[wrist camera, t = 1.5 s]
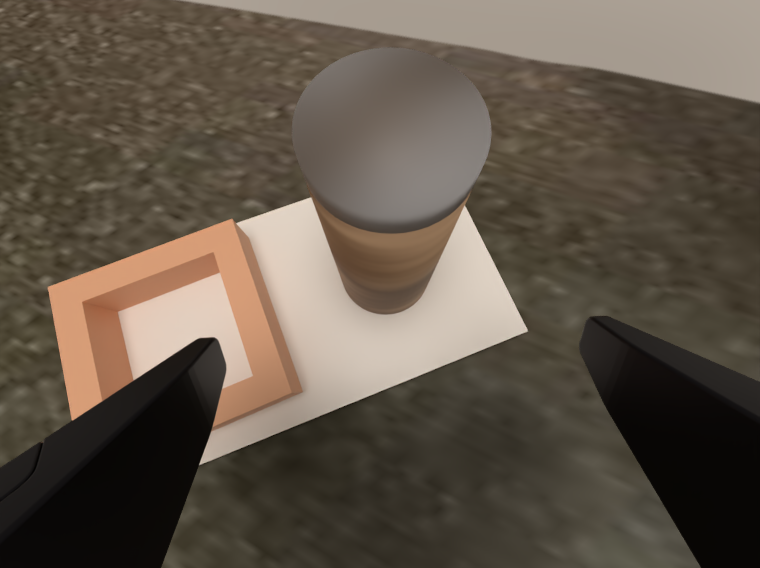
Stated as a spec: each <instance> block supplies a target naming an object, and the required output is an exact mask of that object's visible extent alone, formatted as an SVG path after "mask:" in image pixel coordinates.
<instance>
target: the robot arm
mask: <svg viewBox="0 0 760 568" xmlns="http://www.w3.org/2000/svg"><path fill="white" fill-rule="evenodd" d="M579 350H580V353H581V355H582V358H583V360H584V362H585V364H586V366H587V368H588V371H589V373H590V375H591V377H592V379H593V381H594V384H595V386H596V388H597V390H598V392H599V394H600V397H601V399H602V401H603V403H604V405H605V407H606V409H607V410H608V412H609V414H610V416H611V417H612V419H613V421H614V422H615V424H616V426H617V427H618V429H619V431H620V433H621V434H622V436H623V438H624V439H625V441H626V443H627V444H628V446H629V448H630V449H631V451H632V453H633V454H634V456H635V458H636V459H637V461H638V463H639V464H640V466H641V468H642V469H643V471H644V473H645V474H646V476H647V478H648V480H649V481H650V483H651V485H652V486H653V488H654V490H655V491H656V493H657V495H658V496H659V498H660V500H661V501H662V503H663V505H664V506H665V508H666V510H667V511H668V513H669V515H670V516H671V518H672V520H673V521H674V523H675V525H676V526H677V528H678V530H679V532H680V533H681V535H682V537H683V538H684V540H685V542H686V543H687V545H688V547H689V548H690V550H691V552H692V553H693V555H694V557H695V558H696V560H697V562H698V563H699V565H700V567H701V568H760V382H759V381H756V380H754V379H752V378H749V377H747V376H745V375H743V374H740V373H738V372H736V371H733V370H731V369H729V368H726V367H724V366H722V365H719V364H717V363H715V362H712V361H710V360H708V359H706V358H703V357H701V356H699V355H696V354H694V353H692V352H689V351H687V350H685V349H682V348H680V347H678V346H675V345H673V344H671V343H669V342H666V341H664V340H662V339H659V338H657V337H655V336H652V335H650V334H648V333H645V332H643V331H641V330H638V329H636V328H634V327H632V326H629V325H627V324H625V323H622V322H620V321H618V320H615V319H613V318H611V317H608V316H593V317H589V318H588V319H587V320H586V322H585V326H584V329H583V332H582V336H581V339H580V343H579ZM225 375H226V361H225V358H224V355H223V352H222V349H221V346H220V343H219V341H218V339H217V338H215V337H207V338H198V339H196V340H195V341H193V342H191V343H190V344H188V345H187V346H185V347H184V348H182V349H181V350H179V351H178V352H176V353H175V354H173V355H172V356H170V357H169V358H167V359H166V360H164V361H163V362H161V363H159V364H158V365H156V366H155V367H153V368H152V369H150V370H149V371H147V372H146V373H144V374H143V375H141V376H140V377H138V378H137V379H135V380H134V381H132V382H131V383H129V384H127V385H126V386H124V387H123V388H121V389H120V390H118V391H117V392H115V393H114V394H112V395H111V396H109V397H108V398H106V399H105V400H103V401H102V402H100V403H98V404H97V405H95V406H94V407H92V408H91V409H89V410H88V411H86V412H85V413H83V414H82V415H80V416H79V417H77V418H76V419H74V420H73V421H71V422H70V423H68V424H66V425H65V426H63V427H62V428H60V429H59V430H57V431H56V432H54V433H53V434H51V435H50V436H48V437H47V438H45V439H44V441H43V442H39V443H37V444H36V445H34V446H33V447H31V448H30V449H28V450H27V451H25V452H24V453H22V454H21V455H19V456H18V457H16V458H15V459H13V460H11V461H10V462H8V463H7V464H5V465H4V466H2V467H0V568H161V566H162V564H163V561H164V558H165V556H166V553H167V550H168V547H169V545H170V542H171V539H172V537H173V534H174V531H175V529H176V526H177V523H178V520H179V518H180V515H181V512H182V510H183V507H184V504H185V502H186V499H187V496H188V493H189V491H190V488H191V485H192V483H193V480H194V477H195V475H196V472H197V469H198V466H199V464H200V461H201V458H202V456H203V453H204V450H205V448H206V445H207V442H208V439H209V436H210V434H211V431H212V427H213V423H214V420H215V416H216V412H217V408H218V404H219V400H220V395H221V391H222V387H223V383H224V379H225Z"/></svg>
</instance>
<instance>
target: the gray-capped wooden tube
mask: <svg viewBox="0 0 760 568" xmlns="http://www.w3.org/2000/svg"><path fill="white" fill-rule="evenodd" d="M292 141H293V147H294V151H295V154H296V157H297V160H298V162H299V165H300V168H301V171H302V173H303V176H304V179H305V181H306V184H307V187H308V190H309V192H310V195H311V198H312V201H313V203H314V206H315V209H316V212H317V214H318V217H319V220H320V222H321V225H322V228H323V231H324V233H325V236H326V239H327V242H328V244H329V247H330V250H331V253H332V255H333V258H334V261H335V264H336V266H337V269H338V272H339V274H340V277H341V280H342V283H343V285H344V288H345V290H346V292H347V294H348V295H349V297H350V298H351V299H352V300H353V301H354V303H356V304H357V305H358V306H359V307H361V308H363V309H364V310H367V311H369V312H372V313H375V314H384V315H388V314H395V313H399V312H402V311H404V310H406V309H408V308H410V307H411V306H413V305H414V304H415V303H416V302H417V301H418V300H419V299H420V298H421V297H422V295H423V293H424V292H425V290H426V287H427V285H428V283H429V281H430V279H431V277H432V274H433V272H434V270H435V268H436V266H437V264H438V262H439V259H440V257H441V255H442V253H443V251H444V249H445V247H446V244H447V242H448V240H449V238H450V236H451V234H452V232H453V229H454V227H455V225H456V223H457V221H458V219H459V217H460V214H461V212H462V210H463V208H464V206H465V204H466V201H467V199H468V197H469V195H470V193H471V191H472V189H473V186H474V184H475V182H476V180H477V178H478V176H479V174H480V171H481V169H482V167H483V165H484V163H485V160H486V158H487V155H488V152H489V148H490V142H491V122H490V117H489V113H488V110H487V107H486V104H485V102H484V100H483V98H482V96H481V94H480V93H479V91H478V90H477V88H476V87H475V86H474V84H473V83H472V82H471V81H470V80H469V79H468V78H467V77H466V76H465V75H464V74H463V73H462V72H460V71H459V70H458V69H457V68H455V67H454V66H452V65H451V64H449V63H448V62H446V61H444V60H442V59H440V58H438V57H436V56H433V55H430V54H427V53H425V52H421V51H417V50H413V49H405V48H390V47H388V48H375V49H370V50H364V51H361V52H357V53H354V54H351V55H349V56H346V57H344V58H342V59H340V60H338V61H336V62H334V63H332V64H331V65H329V66H328V67H327V68H325V69H324V70H322V71H321V72H320V73H319V74H318V75H317V76H316V77H315V78H314V79H313V80H312V81H311V82H310V83H309V85H308V86H307V87H306V89H305V90H304V92H303V93H302V95H301V97H300V99H299V101H298V103H297V105H296V109H295V112H294V115H293V122H292Z"/></svg>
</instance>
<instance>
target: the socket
mask: <svg viewBox="0 0 760 568" xmlns="http://www.w3.org/2000/svg"><path fill="white" fill-rule="evenodd" d="M217 273H220V274H221V277H222V280H223V284H224V287H225V290H226V293H227V296H228V299H229V302H230V305H231V309H232V312H233V315H234V318H235V321H236V324H237V327H238V331H239V334H240V337H241V340H242V343H243V346H244V349H245V352H246V356H247V359H248V362H249V365H250V368H251V371H252V374H253V376H252V377H249V378H247V379H245V380H242V381H240V382H237V383H235V384H233V385H230V386H228V387H226V388H223V389H222V391H221V395H220V400H219V404H218V408H217V412H216V416H215V420H214V423H213V427H212V431H214V430H216V429H219V428H221V427H223V426H226V425H228V424H230V423H233V422H235V421H237V420H239V419H242V418H244V417H246V416H249V415H251V414H253V413H256V412H258V411H260V410H263V409H265V408H267V407H270V406H272V405H274V404H276V403H279V402H281V401H283V400H286V399H288V398H290V397H293V396H295V395H297V394H300V393H302V392H303V390H302V387H301V384H300V382H299V379H298V376H297V373H296V370H295V367H294V365H293V362H292V359H291V356H290V353H289V350H288V347H287V345H286V342H285V339H284V336H283V333H282V330H281V328H280V325H279V322H278V319H277V316H276V313H275V311H274V308H273V305H272V302H271V299H270V296H269V293H268V291H267V288H266V285H265V282H264V279H263V276H262V274H261V271H260V268H259V265H258V262H257V259H256V256H255V254H254V251H253V248H252V245H251V242H250V239H249V237H248V236H247V235H246V234H245V233H244V232H243V231H242V229H241V228H240V227H239V226H238V225H237V224H236V223H235V221H234V220H233V219H230V220H228V221H225V222H222V223H219V224H217V225H214V226H211V227H209V228H206V229H203V230H201V231H198V232H195V233H192V234H190V235H187V236H184V237H182V238H179V239H176V240H174V241H171V242H168V243H165V244H163V245H160V246H157V247H155V248H152V249H149V250H147V251H144V252H141V253H139V254H136V255H133V256H130V257H128V258H125V259H122V260H120V261H117V262H114V263H112V264H109V265H106V266H103V267H101V268H98V269H95V270H93V271H90V272H87V273H85V274H82V275H79V276H77V277H74V278H71V279H68V280H66V281H63V282H60V283H58V284H55V285H52V286H50V287H48V290H49V296H50V301H51V307H52V312H53V318H54V323H55V329H56V334H57V340H58V345H59V351H60V356H61V362H62V367H63V373H64V378H65V384H66V389H67V395H68V400H69V406H70V411H71V417H72V421H73V420H74V419H76V418H77V417H79V416H80V415H82V414H83V413H85V412H86V411H88V410H89V409H91V408H92V407H94V406H95V405H97V404H98V403H100V402H102V401H103V400H105V399H106V398H108V397H109V396H111V395H112V394H114V393H115V392H117V391H118V390H120V389H121V388H123V387H124V386H126V385H127V384H129V383H131V382H132V381H134V380H133V376H132V371H131V367H130V363H129V358H128V354H127V350H126V345H125V341H124V337H123V332H122V328H121V324H120V320H119V315H118V312H119V311H121V310H124V309H127V308H129V307H132V306H134V305H137V304H140V303H142V302H145V301H147V300H150V299H153V298H155V297H158V296H160V295H163V294H166V293H168V292H171V291H173V290H176V289H179V288H181V287H184V286H186V285H189V284H192V283H194V282H197V281H199V280H202V279H204V278H207V277H210V276H212V275H215V274H217ZM212 431H211V432H212Z"/></svg>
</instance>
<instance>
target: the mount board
mask: <svg viewBox="0 0 760 568" xmlns="http://www.w3.org/2000/svg"><path fill="white" fill-rule="evenodd" d="M236 224H237V225H238V226H239V227H240V228H241V229H242V231H243V232H244V233H245V234H246V235H247V236H248V237H249V239H250V242H251V245H252V248H253V251H254V254H255V256H256V259H257V262H258V265H259V268H260V271H261V274H262V276H263V279H264V282H265V285H266V288H267V291H268V293H269V296H270V299H271V302H272V305H273V308H274V311H275V313H276V316H277V319H278V322H279V325H280V328H281V330H282V333H283V336H284V339H285V342H286V345H287V347H288V350H289V353H290V356H291V359H292V362H293V365H294V367H295V370H296V373H297V376H298V379H299V382H300V384H301V387H302V390H303V392H302V393H300V394H297V395H295V396H293V397H290V398H288V399H286V400H283V401H281V402H279V403H276V404H274V405H272V406H270V407H267V408H265V409H263V410H260V411H258V412H256V413H253V414H251V415H249V416H246V417H244V418H242V419H239V420H237V421H235V422H233V423H230V424H228V425H226V426H223V427H221V428H219V429H216V430H214V431H212V432H211V434H210V436H209V439H208V442H207V445H206V448H205V450H204V453H203V456H202V458H201V461H200V464H199V465H201V464H203V463H206V462H208V461H211V460H213V459H216V458H218V457H221V456H223V455H225V454H228V453H230V452H233V451H235V450H238V449H240V448H243V447H245V446H248V445H250V444H252V443H255V442H257V441H260V440H262V439H265V438H267V437H270V436H272V435H275V434H277V433H279V432H282V431H284V430H287V429H289V428H292V427H294V426H297V425H299V424H302V423H304V422H306V421H309V420H311V419H314V418H316V417H319V416H321V415H324V414H326V413H329V412H331V411H333V410H336V409H338V408H341V407H343V406H346V405H348V404H351V403H353V402H355V401H358V400H360V399H363V398H365V397H368V396H370V395H373V394H375V393H378V392H380V391H382V390H385V389H387V388H390V387H392V386H395V385H397V384H400V383H402V382H405V381H407V380H409V379H412V378H414V377H417V376H419V375H422V374H424V373H427V372H429V371H432V370H434V369H436V368H439V367H441V366H444V365H446V364H449V363H451V362H454V361H456V360H459V359H461V358H463V357H466V356H468V355H471V354H473V353H476V352H478V351H481V350H483V349H485V348H488V347H490V346H493V345H495V344H498V343H500V342H503V341H505V340H508V339H510V338H512V337H515V336H517V335H520V334H522V333H525V332H527V331H528V330H527V328H526V326H525V324H524V322H523V320H522V318H521V316H520V314H519V312H518V310H517V308H516V306H515V304H514V302H513V300H512V298H511V296H510V294H509V292H508V290H507V288H506V286H505V284H504V282H503V280H502V278H501V276H500V274H499V272H498V270H497V268H496V266H495V264H494V262H493V260H492V258H491V256H490V254H489V252H488V251H487V249H486V247H485V245H484V243H483V241H482V239H481V237H480V235H479V233H478V231H477V229H476V227H475V225H474V223H473V221H472V219H471V217H470V215H469V213H468V211H467V209H466V207H465V206H464V208H463V210H462V212H461V214H460V217H459V219H458V221H457V223H456V225H455V227H454V229H453V232H452V234H451V236H450V238H449V240H448V242H447V244H446V247H445V249H444V251H443V253H442V255H441V257H440V259H439V262H438V264H437V266H436V268H435V270H434V272H433V274H432V277H431V279H430V281H429V283H428V285H427V287H426V290H425V292H424V293H423V295H422V297H421V298H420V299H419V300H418V301H417V302H416V303H415V304H414V305H413V306H411V307H410V308H408V309H406V310H404V311H402V312H399V313H395V314H388V315H384V314H375V313H372V312H369V311H367V310H364V309H363V308H361V307H359V306H358V305H357V304H356V303H354V301H353V300H352V299H351V298H350V297H349V295H348V294H347V292H346V290H345V288H344V285H343V283H342V280H341V277H340V274H339V272H338V269H337V266H336V264H335V261H334V258H333V255H332V253H331V250H330V247H329V244H328V242H327V239H326V236H325V233H324V231H323V228H322V225H321V222H320V220H319V217H318V214H317V212H316V209H315V206H314V203H313V201H312V198H308V199H305V200H302V201H300V202H297V203H294V204H291V205H288V206H285V207H282V208H279V209H276V210H273V211H270V212H268V213H265V214H262V215H259V216H256V217H253V218H250V219H247V220H244V221H241V222H239V223H236ZM118 315H119V320H120V324H121V328H122V332H123V337H124V341H125V345H126V350H127V354H128V358H129V363H130V367H131V371H132V376H133V380H135V379H137V378H138V377H140V376H141V375H143V374H144V373H146V372H147V371H149V370H150V369H152V368H153V367H155V366H156V365H158V364H159V363H161V362H163V361H164V360H166V359H167V358H169V357H170V356H172V355H173V354H175V353H176V352H178V351H179V350H181V349H182V348H184V347H185V346H187V345H188V344H190V343H191V342H193V341H195V340H196V339H198V338H207V337H215V338H217V339H218V341H219V343H220V346H221V349H222V352H223V355H224V358H225V361H226V375H225V379H224V383H223V387H222V389H223V388H226V387H228V386H230V385H233V384H235V383H237V382H240V381H242V380H245V379H247V378H249V377H252V376H253V374H252V371H251V368H250V365H249V362H248V359H247V356H246V352H245V349H244V346H243V343H242V340H241V337H240V334H239V331H238V327H237V324H236V321H235V318H234V315H233V312H232V309H231V305H230V302H229V299H228V296H227V293H226V290H225V287H224V284H223V280H222V277H221V274H220V273H217V274H215V275H212V276H210V277H207V278H204V279H202V280H199V281H197V282H194V283H192V284H189V285H186V286H184V287H181V288H179V289H176V290H173V291H171V292H168V293H166V294H163V295H160V296H158V297H155V298H153V299H150V300H147V301H145V302H142V303H140V304H137V305H134V306H132V307H129V308H127V309H124V310H121V311H119V312H118Z"/></svg>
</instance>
